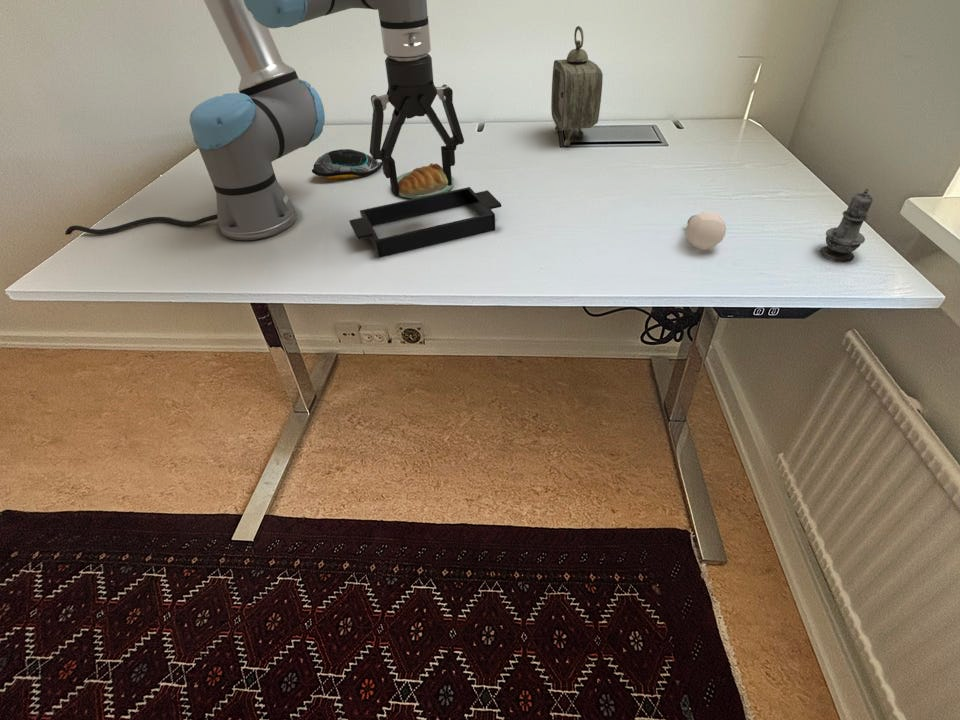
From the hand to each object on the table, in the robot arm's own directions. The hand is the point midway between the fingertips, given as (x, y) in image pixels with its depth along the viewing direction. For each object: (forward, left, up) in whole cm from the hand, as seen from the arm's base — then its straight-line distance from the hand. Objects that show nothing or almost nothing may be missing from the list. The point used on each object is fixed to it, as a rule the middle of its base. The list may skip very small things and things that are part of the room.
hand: (421, 187), depth 101 cm
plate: (+5, +19, -8) cm, 21 cm away
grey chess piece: (+62, -41, -9) cm, 75 cm away
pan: (0, 0, -8) cm, 8 cm away
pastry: (+1, 0, -1) cm, 1 cm away
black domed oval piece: (-9, +34, -9) cm, 36 cm away
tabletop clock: (+49, +29, -9) cm, 58 cm away
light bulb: (+44, -27, -9) cm, 53 cm away
